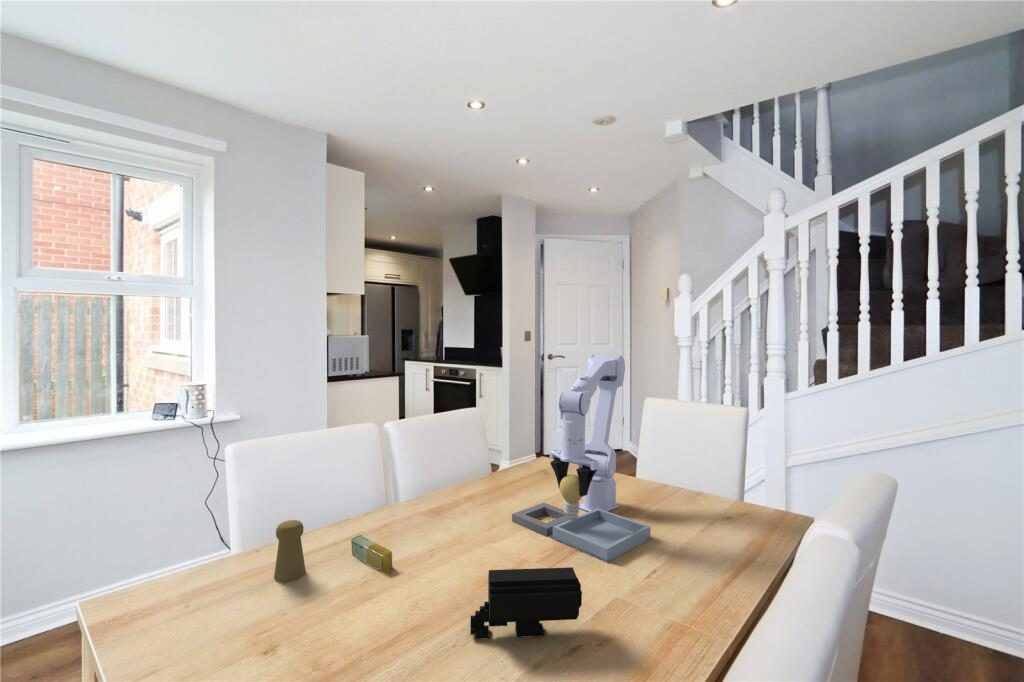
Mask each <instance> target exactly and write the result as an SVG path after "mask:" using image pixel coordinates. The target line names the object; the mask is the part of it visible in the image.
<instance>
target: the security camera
mask: <svg viewBox="0 0 1024 682" xmlns="http://www.w3.org/2000/svg"><path fill="white" fill-rule="evenodd" d="M487 576H488V577H487V578H488V579H487V581H488V585H487V589H488V590H487V591H488V593H487V600H488V601H484V603H483V604H484V605H480V606H479V610H475V612H474V615H470V623H469V624H470V635H474V639H475V640H480V639H481V638H487V639H490V629H489V628H490V627H507V626H508V623H515V624H514V625H515V635H516V638H524V637H523V636H526V637H525V638H527V636H532V637H545V629H544V625H543V622H546V621H547V622H548V621H572V620H578V619H579V617H580V608H581V606H582V605H583V604H582V602H583V598H582V596H583V595H582V594H583V592H582V589H581V588H582V586H581V585H582V584H581V582H580V580H579V578H578V577H577V574H576V572H575V569H574V568H573V567H569V566H568V567H546V568H545V567H539V568H514V569H509V568H507V569H488V575H487ZM485 623H488V625H485ZM481 640H482V639H481Z"/></svg>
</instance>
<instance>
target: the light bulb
mask: <svg viewBox="0 0 1024 682" xmlns="http://www.w3.org/2000/svg"><path fill="white" fill-rule="evenodd" d="M559 491H560V494H561V496H562V498H563V499H564V503H563V505H564V506H563V507H564V509H563V510H564V513H565V514H566V515H568V516H576V515H579V512H580V508H579V505H580V502H579V501H580V500H581V498H583V497H582V496H580V492H579V478H578V474H567V476H565V477H564V478H563V479H562V480H561V483H560V489H559Z"/></svg>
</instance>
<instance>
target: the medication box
mask: <svg viewBox="0 0 1024 682" xmlns="http://www.w3.org/2000/svg"><path fill="white" fill-rule="evenodd" d="M350 542H351V555H352V554H353V555H352V556H354V555H355V556H356V558H357V557H358V559H359V558H360V559H361V561H362V560H363V561H362V562H364V561H365V562H364V563H365V564H367V563H368V564H367V565H369V564H370V566H371V565H372V566H371V567H372V568H374V567H375V569H376V568H377V570H378V569H379V570H378V571H380V570H381V571H382V572H381V571H380V572H381V573H385V572H387V571H389V570H388V569H390V568H391V569H393V551H392V550H391V549H388V548H386V547H384V546H382V545H381V544H378V543H376V542H374V541H373V540H371V539H369V538H367V537H365V536H363V535H362V534H359V535H357V536H355V537H353V538H351V541H350ZM355 556H354V557H355ZM360 559H359V560H360ZM391 569H390V570H391ZM384 571H385V572H384Z"/></svg>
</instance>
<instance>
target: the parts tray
mask: <svg viewBox="0 0 1024 682" xmlns="http://www.w3.org/2000/svg"><path fill="white" fill-rule="evenodd" d="M651 527H652V526H650V525H647V524H645V523H641V522H639V521H636V520H633V519H630V518H627V517H625V516H621V515H618V514H616V513H612V512H611V511H608V512H607V511H605V510H602V509H599V508H597V509H594V510H592V511H589V512H588V511H586V512H585V513H582V514H580V515H579V516H577V517H575V518H572V519H570V520H568V521H565V522H563V523H560V524H558V525H555V526H553V534H552V540H554V541H557V542H559V543H562V544H564V545H565V546H568V547H569V548H570V547H571V548H572V549H575V550H577V551H580V552H582V553H584V554H587V555H589V556H590V557H594V558H596V559H598V560H600V561H602V562H605V563H608V562H610V561H612V560H614V559H616V558H618V557H619V556H622V555H623V554H625V553H627V552H628V551H630V550H632V549H634V548H635V547H638V546H640V545H641V544H643V543H645V542H648V541H649V540H651V536H652V535H651V531H652V528H651Z"/></svg>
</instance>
